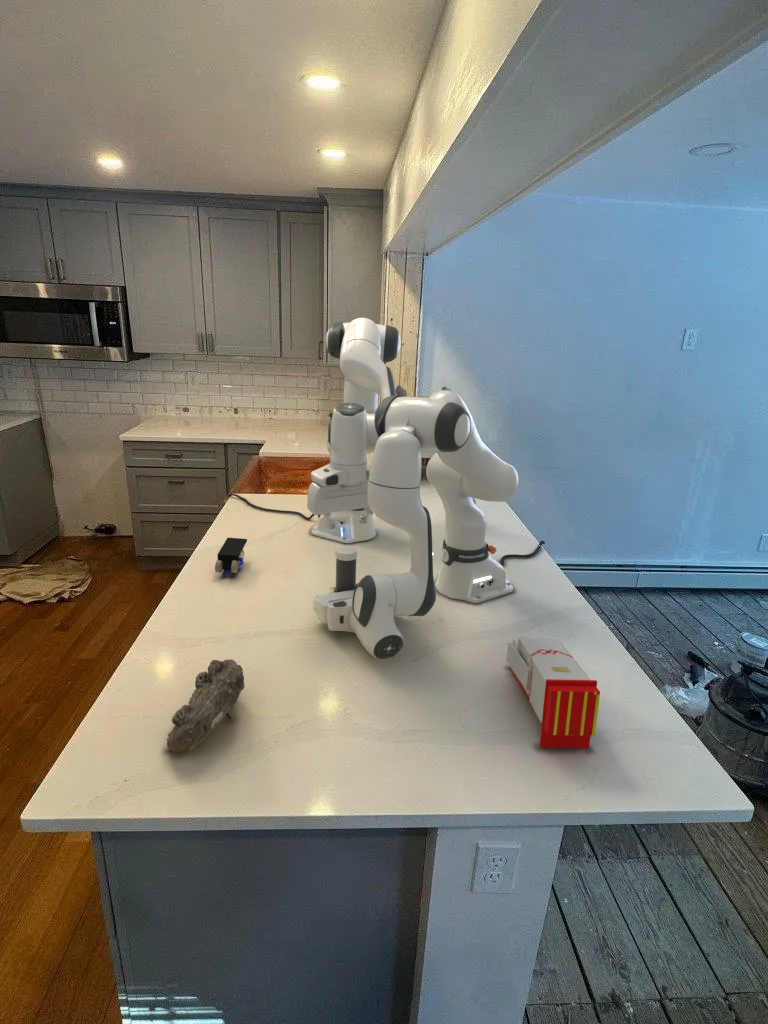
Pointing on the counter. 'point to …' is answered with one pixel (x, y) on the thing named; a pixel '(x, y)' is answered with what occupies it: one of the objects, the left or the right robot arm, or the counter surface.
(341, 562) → the dark gray cylinder
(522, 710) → the counter surface
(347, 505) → the left robot arm
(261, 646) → the counter surface
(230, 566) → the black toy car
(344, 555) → the lid
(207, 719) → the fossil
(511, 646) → the toy
